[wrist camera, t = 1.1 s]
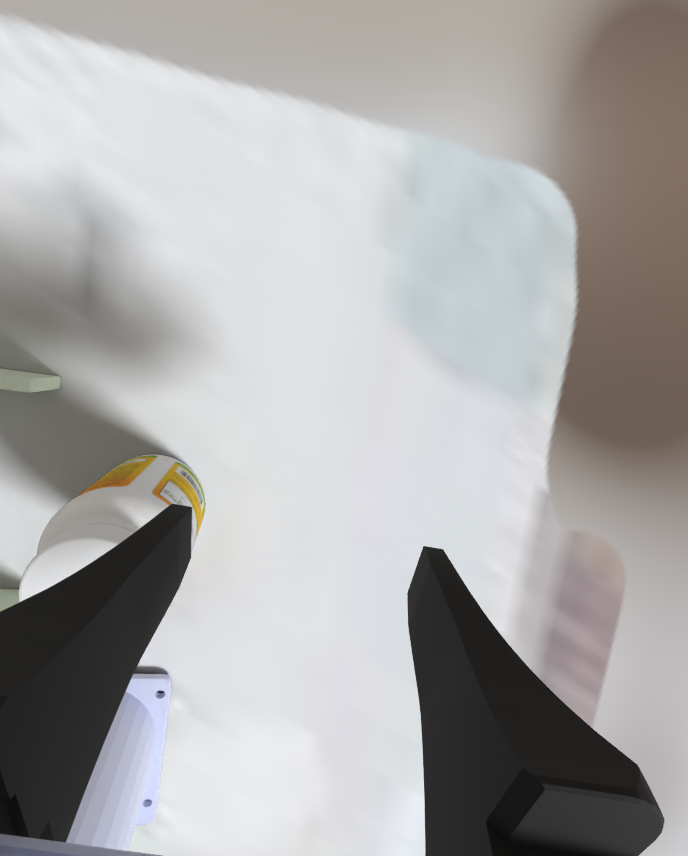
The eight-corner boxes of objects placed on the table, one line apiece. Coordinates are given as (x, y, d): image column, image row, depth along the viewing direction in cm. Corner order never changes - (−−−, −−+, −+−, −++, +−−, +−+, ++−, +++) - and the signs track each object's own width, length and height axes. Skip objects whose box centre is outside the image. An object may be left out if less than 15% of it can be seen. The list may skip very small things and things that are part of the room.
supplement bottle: (86, 533, 23) (-32, 653, 14) (118, 438, 23) (19, 494, 13) (188, 559, 24) (144, 685, 15) (220, 470, 24) (196, 541, 14)
